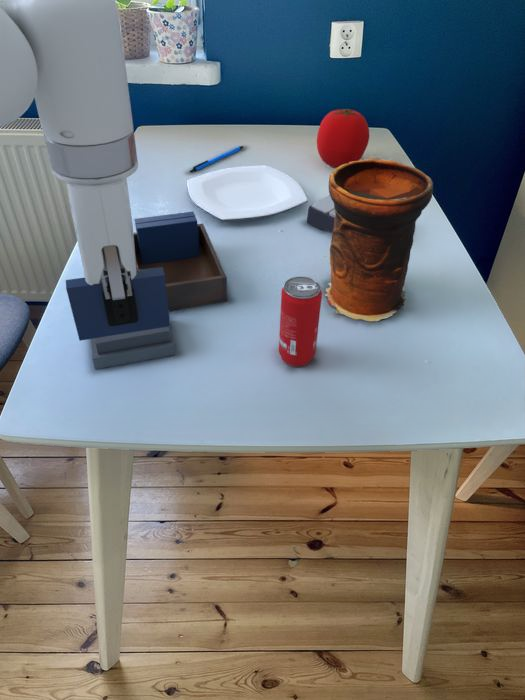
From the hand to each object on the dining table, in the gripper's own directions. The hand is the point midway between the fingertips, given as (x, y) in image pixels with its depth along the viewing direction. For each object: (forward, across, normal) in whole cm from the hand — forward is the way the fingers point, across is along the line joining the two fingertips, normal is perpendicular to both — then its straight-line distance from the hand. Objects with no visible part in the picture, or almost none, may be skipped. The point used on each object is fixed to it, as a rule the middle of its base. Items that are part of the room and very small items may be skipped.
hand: (122, 315), depth 60 cm
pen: (+14, -73, +28) cm, 79 cm away
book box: (+14, -27, +10) cm, 32 cm away
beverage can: (+14, -3, +23) cm, 27 cm away
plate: (+14, -52, +29) cm, 61 cm away
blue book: (+2, 0, 0) cm, 2 cm away
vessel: (+14, -14, +38) cm, 43 cm away
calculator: (+14, -35, +46) cm, 59 cm away
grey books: (+14, -12, +1) cm, 19 cm away
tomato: (+14, -63, +55) cm, 85 cm away
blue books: (+14, -33, +10) cm, 37 cm away
